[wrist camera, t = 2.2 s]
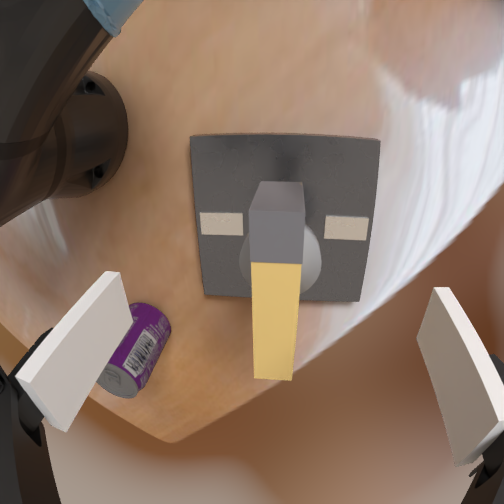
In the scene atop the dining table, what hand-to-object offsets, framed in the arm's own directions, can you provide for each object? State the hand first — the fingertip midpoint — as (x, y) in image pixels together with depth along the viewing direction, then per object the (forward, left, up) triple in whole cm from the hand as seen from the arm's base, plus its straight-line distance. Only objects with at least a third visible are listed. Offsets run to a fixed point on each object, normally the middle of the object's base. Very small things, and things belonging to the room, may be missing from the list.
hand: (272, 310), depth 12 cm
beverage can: (-19, -20, -21) cm, 34 cm away
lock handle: (0, -4, -13) cm, 14 cm away
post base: (0, -4, -21) cm, 21 cm away
